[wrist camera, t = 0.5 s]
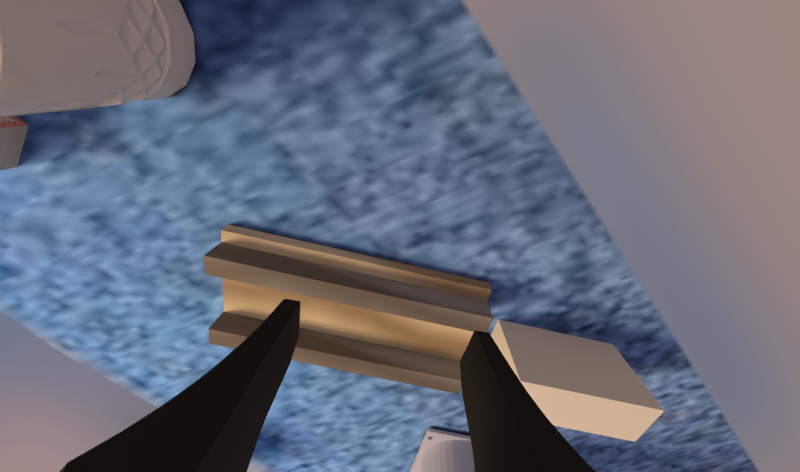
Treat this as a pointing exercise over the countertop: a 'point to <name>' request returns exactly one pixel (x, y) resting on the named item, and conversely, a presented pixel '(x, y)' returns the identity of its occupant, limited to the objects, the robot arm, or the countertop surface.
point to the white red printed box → (11, 141)
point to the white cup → (91, 53)
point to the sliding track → (350, 307)
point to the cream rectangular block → (578, 381)
